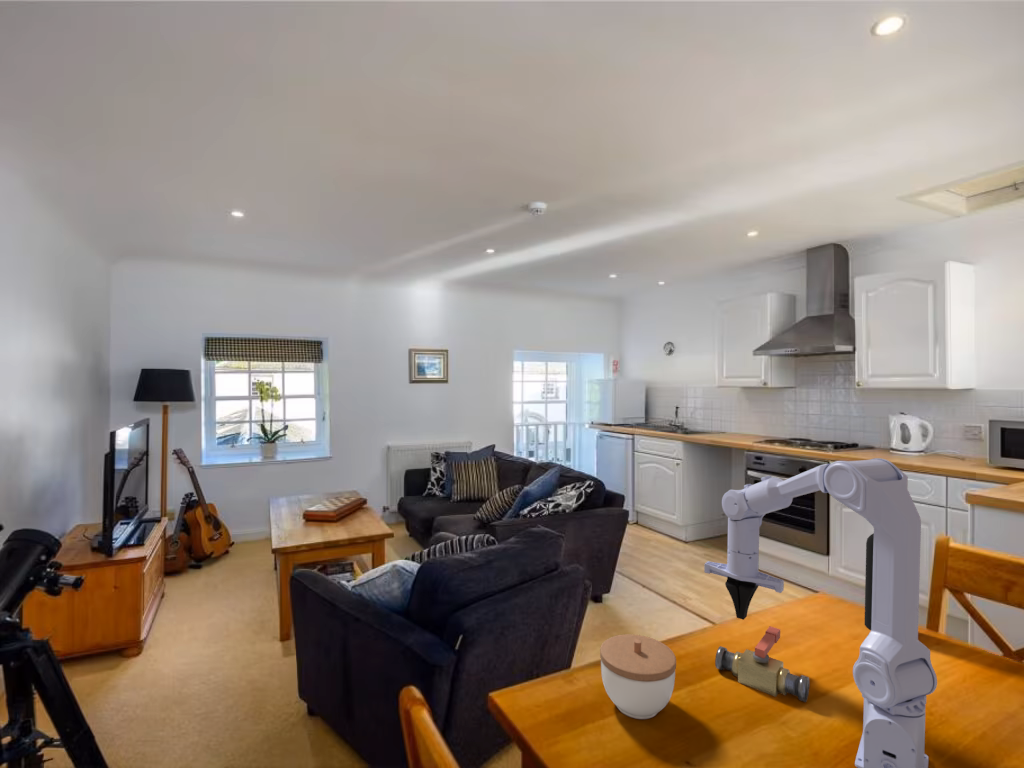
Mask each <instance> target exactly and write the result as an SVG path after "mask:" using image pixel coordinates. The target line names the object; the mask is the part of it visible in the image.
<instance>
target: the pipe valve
mask: <svg viewBox="0 0 1024 768" xmlns="http://www.w3.org/2000/svg"><path fill="white" fill-rule="evenodd" d="M753 652H754V651H753V650H749V649H747V648H746V649H745V650H744V652H739V651H736V652H733V651H729V650H728V649H727V647H724V646H720V645H719V647H718V648H717V650H716V653H715V659H714V661H715V662H714V664H715V668H716V669H719V670H721V671H724V670H726V671H729V672H732V675H733V676H735V677H737V682H738V683H740V684H742V685H745V686H747V687H750V688H752V689H755V690H757V691H760V692H763V693H765V694H767V695H769V696H773V697H777V696H778V695H779V694H782V695H783V696H787V694H790V695H793V696H795V697H797V698H798V700H799V701H801V702H803V703H806V702H807V701H808V698H809V693H810V677H809V676H807V675H803V674H801V675H800V676H799V675H796V674H793V673H791V672H790V670H789V669H788V668H785V667H784V661H782V660H779V659H776V658H773V657H770V656H769V662H768V663H760V662H757V661H756V660H754V659H753Z"/></svg>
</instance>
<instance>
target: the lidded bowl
mask: <svg viewBox="0 0 1024 768" xmlns="http://www.w3.org/2000/svg"><path fill="white" fill-rule="evenodd" d="M599 648H600V649H599V652H600V653H599V657H600V671H601V672H600V673H601V679H602V683H603V686H604V689H605V693H606V694H607V696H608V698H610V700H611V701H612V702H613V704H614V705H615V706H616V708H617V709H618V711H620V712H621V713H622V714H623V715H625V716H627V717H629V718H632V719H635V720H648V719H651V718H654V717H656V716H657V714H658V713H659V712H660V711H662V710H663V709H664V708H666V706H667V705H668V703H669V702H670V700H671V698H672V695H673V691H674V689H675V682H676V681H675V680H676V679H675V678H676V669H677V668H676V667H677V658H676V657H677V656H676V655H675V653H674V652H673V650H672V649H671V648H670V647H669V646H668V645H666V643H665V644H664V643H663V642H661V641H660V640H658V639H656V638H652V637H651V636H645V635H640V634H633V633H632V634H631V633H630V634H629V633H628V634H627V633H626V634H625V633H624V634H618V635H614V636H611V637H609V638H607V639H605V640H604V641H603V642H602V643H601V645H600V647H599Z"/></svg>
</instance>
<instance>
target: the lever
mask: <svg viewBox="0 0 1024 768" xmlns="http://www.w3.org/2000/svg"><path fill="white" fill-rule="evenodd" d="M780 639H781V629H780V628H777V627H774V626H768V627H767V629H766V630H765V633H764V635H763V636H762V638H761V639H760V640H759V641H758V643H757V644H756V646H755V647H754V651H753V659H754V660H756V661H757V662H760V663H768V662H769V657H770V656H769V652H770V651H771V650H772V648H773V647H774V645H775V644H777V643H778V641H779V640H780Z"/></svg>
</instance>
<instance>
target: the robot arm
mask: <svg viewBox="0 0 1024 768" xmlns="http://www.w3.org/2000/svg"><path fill="white" fill-rule="evenodd" d="M908 478H909V477H908V475H907V474H906V473H904V472H903V471H902V470H901V469H900V468H899V467H897V466H896V465H895V464H894V463H893V462H891V461H890V460H888V459H885V458H881V457H880V458H879V457H878V458H877V457H876V458H871V459H863V460H861V459H859V460H849V461H847V460H835V461H834V462H832V463H824V464H820V465H818V466H817V465H816V466H815V467H813V468H810V469H808V470H806V471H803V472H801V473H799V474H797V475H794V476H791V477H789V478H786V479H782V478H780V477H777V476H776V477H775V476H773V477H772V476H771V475H766V476H762V477H760V480H761V481H759V482H757V483H754V484H751V483H746V484H745V485H743V488H742V489H729V490H728V491H726V492H725V493H724V494H723V496H722V497H721V508H722V511H723V513H724V514H725V516H726V517H727V551H726V553H727V555H726V557H727V558H726V562H727V563H720V562H715V561H714V562H713V561H708V560H707V561H705V563H704V565H703V566H704V572H703V573H705V574H713V575H716V576H721V577H724V578H726V581H725V584H724V585H725V588H726V589H727V592H728V593H729V596H730V597H731V600H732V604H733V607H734V610H735V615H736V616H735V617H736V619H737V618H738V619H741V620H744V621H745V619H746V618H747V617H748V610H749V607H750V604H751V602H752V599H753V598H754V595H755V593H756V591H757V590H758V588H759V587H763V588H766V589H770V590H772V591H773V590H774V591H775V592H776V593H779V594H781V593H782V592H783V591H784V588H785V581H784V579H782V578H781V579H780V578H777V577H774V576H772V575H769V574H767V573H764V572H761V571H760V570H759V564H760V563H759V560H760V559H759V557H760V555H759V554H760V549H759V548H760V528H761V526H762V524H763V518H764V516H766V514H769V513H773V512H776V511H780V510H782V509H786V508H789V507H790V506H791V504H792V502H793V500H794V498H797V497H801V496H803V495H804V496H805V495H807V494H811V493H815V492H818V491H821V493H823V494H827V493H828V494H829V495H830V496H831V497H832V498H833V499H834V500H836V501H838V502H839V503H841V504H842V505H844V506H846V507H847V508H848V509H850V510H852V511H853V512H855V513H857V514H858V515H859V516H861V517H862V518H863V519H865V520H866V521H867V522H868V523H869V524H870V525H871V526H872V527H873V534H874V543H873V583H872V623H871V630H870V631H869V633H868V635H866V637H865V639H863V641H862V643H861V645H860V646H859V656H858V658H857V660H856V661H855V662H854V665H853V667H852V677H853V680H854V683H855V685H856V687H857V689H858V690H859V692H860V694H861V697H862V698H863V719H862V721H863V724H862V735H861V737H860V741H859V745H858V750H857V753H856V756H855V761H854V766H855V767H856V768H929V758H930V757H929V756H928V755H927V754H926V753H925V744H926V742H925V741H926V739H925V738H926V733H925V732H926V704H927V696H928V695H932V694H933V693H934V692H935V690H936V689H937V687H938V678H937V673H936V671H935V669H934V667H933V664H932V660H931V649H929V648H928V647H927V646H926V645H925V643H922V642H921V641H920V640H919V618H920V615H919V613H920V612H919V611H920V610H919V607H920V580H921V579H920V577H921V576H920V575H921V574H920V573H921V538H922V537H921V535H922V531H921V530H922V521H921V516H920V513H919V511H918V509H917V507H916V505H915V503H914V501H913V498H912V497H911V494H910V492H909V489H908V488H909V487H908V483H909V481H908Z"/></svg>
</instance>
